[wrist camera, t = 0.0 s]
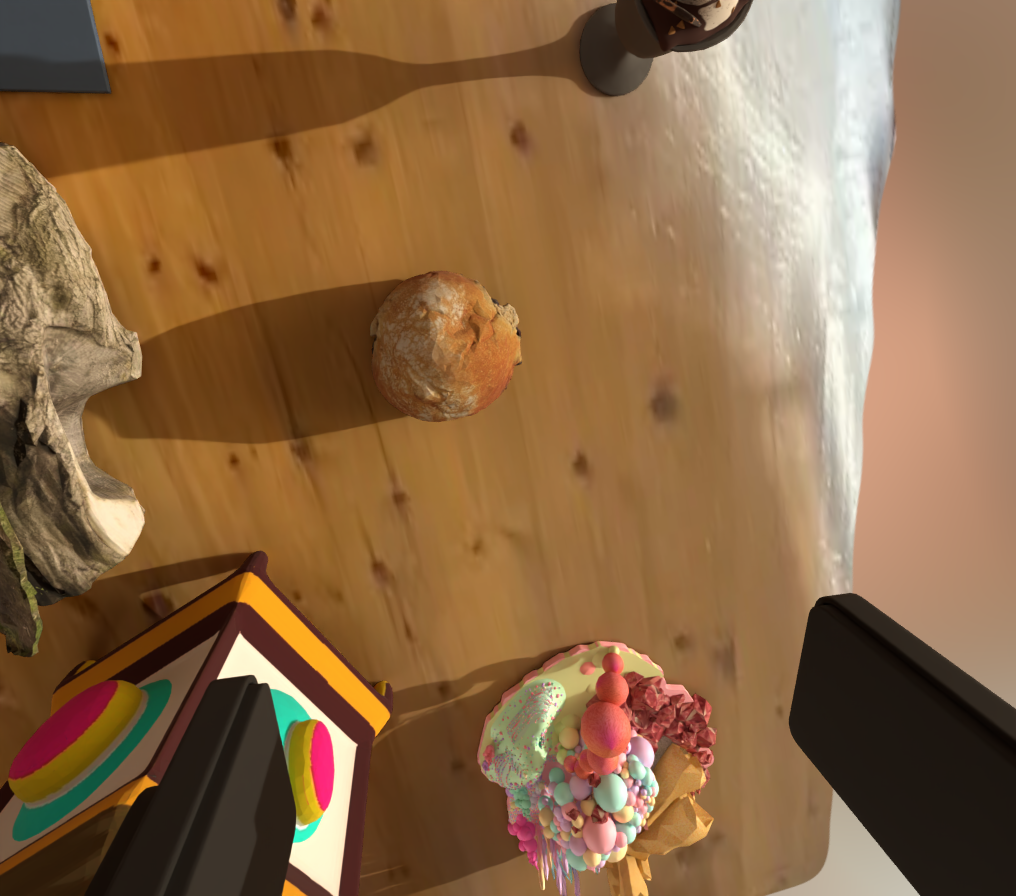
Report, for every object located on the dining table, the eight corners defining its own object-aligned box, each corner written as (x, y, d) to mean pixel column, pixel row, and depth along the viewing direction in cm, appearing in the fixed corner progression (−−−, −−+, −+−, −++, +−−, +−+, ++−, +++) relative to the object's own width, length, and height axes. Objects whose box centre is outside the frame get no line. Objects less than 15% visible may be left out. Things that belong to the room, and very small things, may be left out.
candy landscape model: (749, 716, 55) (812, 800, 46) (605, 864, 58) (639, 967, 50) (574, 610, 47) (611, 687, 38) (420, 789, 50) (421, 896, 42)
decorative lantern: (48, 659, 40) (-820, 1580, 12) (264, 520, 39) (-107, 1142, 11) (231, 801, 47) (-38, 1587, 19) (417, 686, 46) (422, 1319, 18)
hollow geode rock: (148, 533, 43) (244, 602, 34) (-77, 614, 33) (-18, 737, 25) (43, 141, 33) (144, 106, 25) (-318, 95, 23) (-356, 10, 15)
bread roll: (397, 269, 39) (336, 266, 31) (533, 274, 36) (500, 272, 29) (401, 400, 42) (346, 426, 34) (526, 413, 39) (495, 444, 32)
